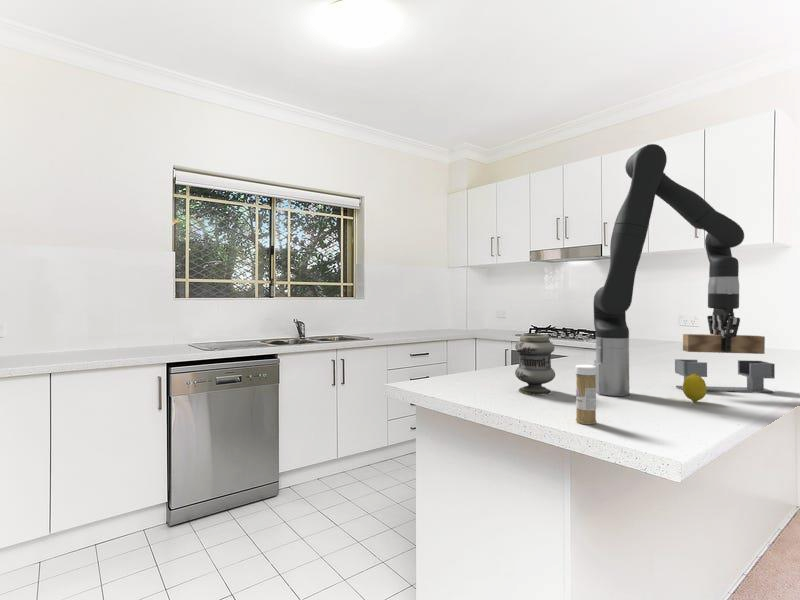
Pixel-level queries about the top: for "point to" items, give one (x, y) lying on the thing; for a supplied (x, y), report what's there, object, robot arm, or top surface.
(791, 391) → the top surface
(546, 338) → the apothecary jar
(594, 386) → the sprinkles bottle
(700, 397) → the lemon
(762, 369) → the bracket stand
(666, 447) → the top surface
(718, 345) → the rail
